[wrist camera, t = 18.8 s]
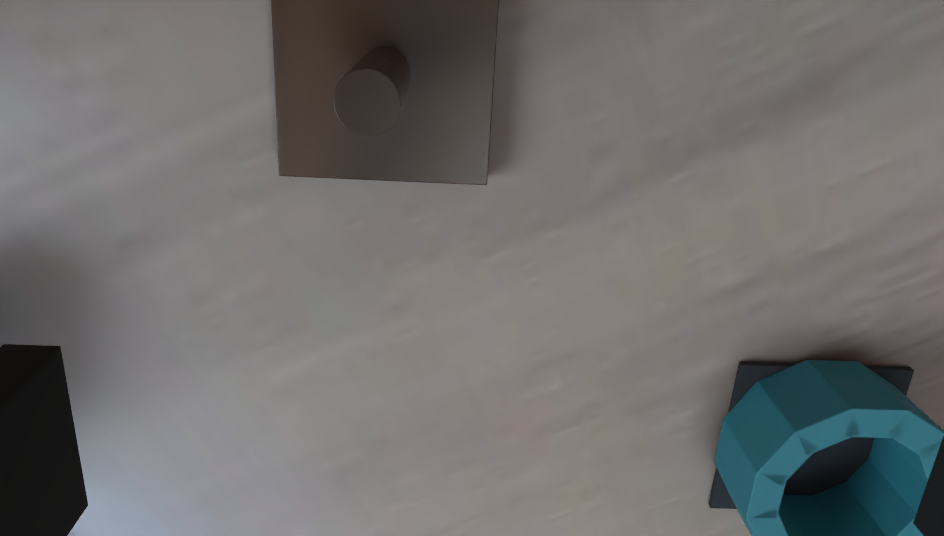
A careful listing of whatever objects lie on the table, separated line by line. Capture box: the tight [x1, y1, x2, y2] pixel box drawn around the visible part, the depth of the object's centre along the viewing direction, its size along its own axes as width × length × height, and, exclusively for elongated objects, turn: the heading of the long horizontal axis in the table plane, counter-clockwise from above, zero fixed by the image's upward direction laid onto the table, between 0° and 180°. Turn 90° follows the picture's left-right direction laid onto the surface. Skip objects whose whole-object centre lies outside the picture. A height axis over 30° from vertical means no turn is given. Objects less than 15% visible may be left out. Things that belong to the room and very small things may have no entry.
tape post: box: [271, 0, 499, 185], centre depth 30 cm, size 10×10×10 cm
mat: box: [709, 362, 914, 509], centre depth 43 cm, size 10×10×1 cm
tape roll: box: [714, 360, 944, 536], centre depth 41 cm, size 11×11×5 cm
